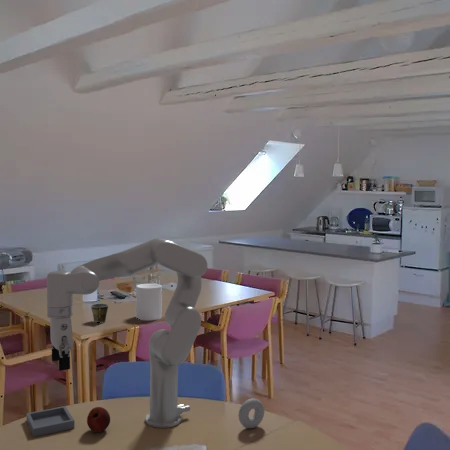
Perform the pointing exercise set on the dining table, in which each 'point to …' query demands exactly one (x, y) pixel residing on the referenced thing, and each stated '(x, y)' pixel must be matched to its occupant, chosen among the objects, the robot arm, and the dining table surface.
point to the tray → (50, 421)
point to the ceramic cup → (99, 312)
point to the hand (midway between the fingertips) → (60, 364)
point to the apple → (98, 419)
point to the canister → (149, 301)
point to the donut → (245, 410)
